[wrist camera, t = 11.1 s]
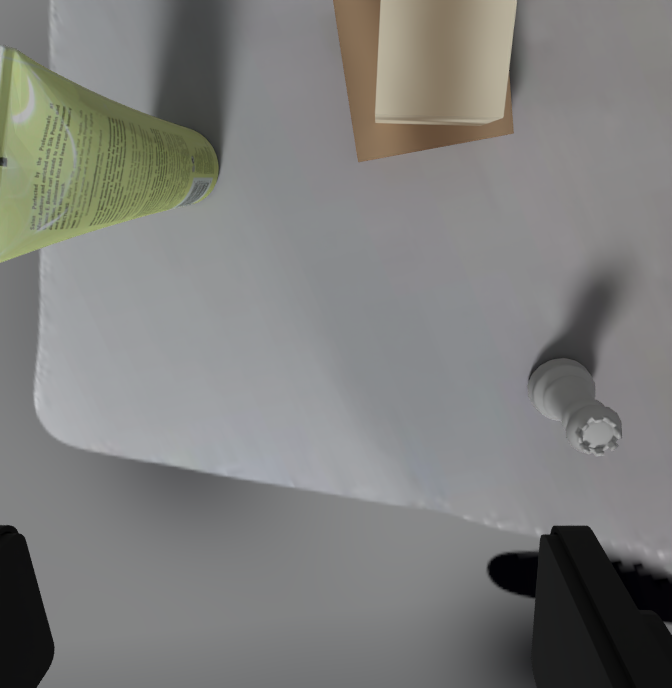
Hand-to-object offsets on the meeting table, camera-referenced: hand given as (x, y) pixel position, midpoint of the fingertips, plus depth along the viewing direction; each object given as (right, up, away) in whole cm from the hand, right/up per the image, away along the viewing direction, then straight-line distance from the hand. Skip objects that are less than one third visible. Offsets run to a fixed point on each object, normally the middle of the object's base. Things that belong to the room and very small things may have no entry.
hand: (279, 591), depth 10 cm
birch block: (+6, +20, +21) cm, 29 cm away
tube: (-9, +17, +27) cm, 33 cm away
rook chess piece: (+17, +2, +30) cm, 35 cm away
